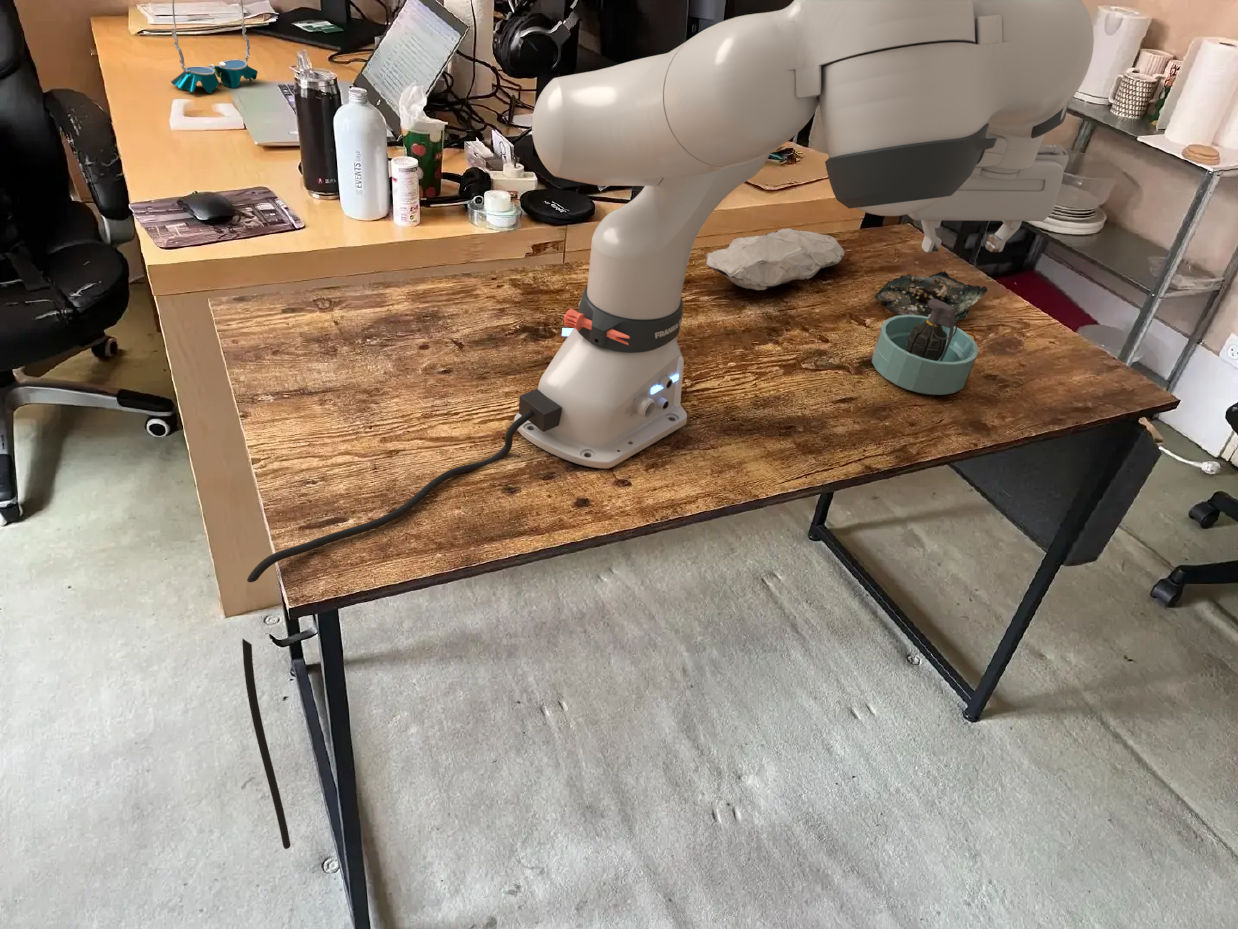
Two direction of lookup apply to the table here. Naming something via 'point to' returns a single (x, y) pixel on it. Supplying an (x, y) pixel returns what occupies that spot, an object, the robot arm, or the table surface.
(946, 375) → the bowl
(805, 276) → the stone
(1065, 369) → the table surface
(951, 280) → the decorative rock
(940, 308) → the grenade
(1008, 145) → the robot arm
